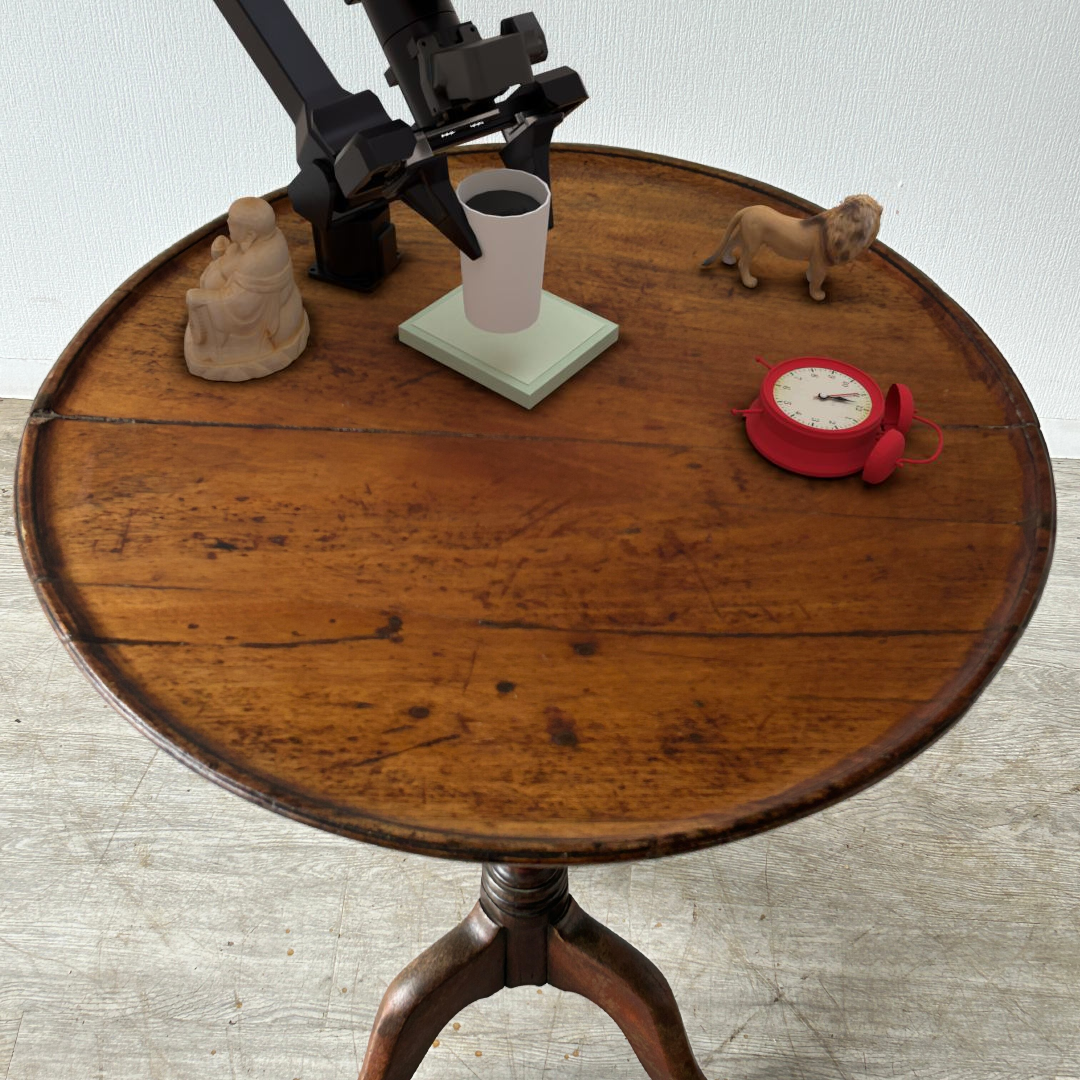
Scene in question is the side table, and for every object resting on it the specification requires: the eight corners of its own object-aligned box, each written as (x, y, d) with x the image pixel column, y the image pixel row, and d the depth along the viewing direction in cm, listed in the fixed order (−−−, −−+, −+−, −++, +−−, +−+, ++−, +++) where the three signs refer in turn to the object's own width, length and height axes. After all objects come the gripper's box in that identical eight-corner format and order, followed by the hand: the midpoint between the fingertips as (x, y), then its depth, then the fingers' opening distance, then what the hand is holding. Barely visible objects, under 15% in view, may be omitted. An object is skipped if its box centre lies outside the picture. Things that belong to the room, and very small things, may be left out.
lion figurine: (862, 275, 103) (887, 184, 96) (863, 308, 99) (888, 216, 93) (702, 255, 104) (715, 165, 98) (697, 287, 101) (710, 195, 94)
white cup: (558, 298, 87) (564, 180, 80) (525, 346, 83) (528, 226, 76) (480, 278, 89) (479, 160, 82) (443, 323, 85) (439, 204, 77)
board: (399, 340, 94) (397, 324, 93) (491, 279, 101) (491, 263, 100) (529, 410, 88) (529, 393, 87) (618, 339, 95) (619, 323, 94)
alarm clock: (757, 338, 90) (956, 350, 83) (761, 402, 94) (951, 418, 88) (721, 416, 83) (934, 435, 77) (727, 481, 87) (930, 504, 81)
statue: (332, 264, 83) (192, 231, 80) (298, 408, 92) (171, 382, 89) (339, 182, 91) (212, 149, 88) (307, 321, 101) (191, 295, 98)
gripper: (339, 8, 67) (451, 253, 69) (580, -55, 75) (673, 166, 77) (290, 87, 77) (389, 299, 79) (508, 23, 85) (591, 218, 87)
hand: (513, 244), depth 80 cm, fingers closed on white cup, 6 cm apart
